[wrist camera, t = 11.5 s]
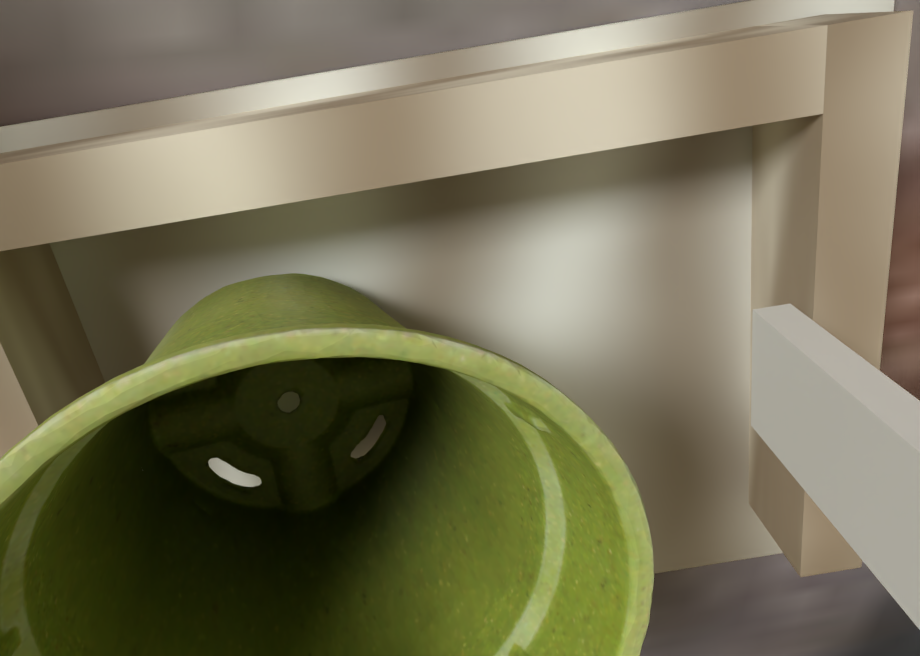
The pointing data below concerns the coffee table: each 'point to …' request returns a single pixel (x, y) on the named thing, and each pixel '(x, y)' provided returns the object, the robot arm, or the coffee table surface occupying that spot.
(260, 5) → the coffee table surface
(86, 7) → the coffee table surface
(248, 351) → the plant pot
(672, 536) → the beige rectangular tray
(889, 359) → the coffee table surface
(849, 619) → the coffee table surface
